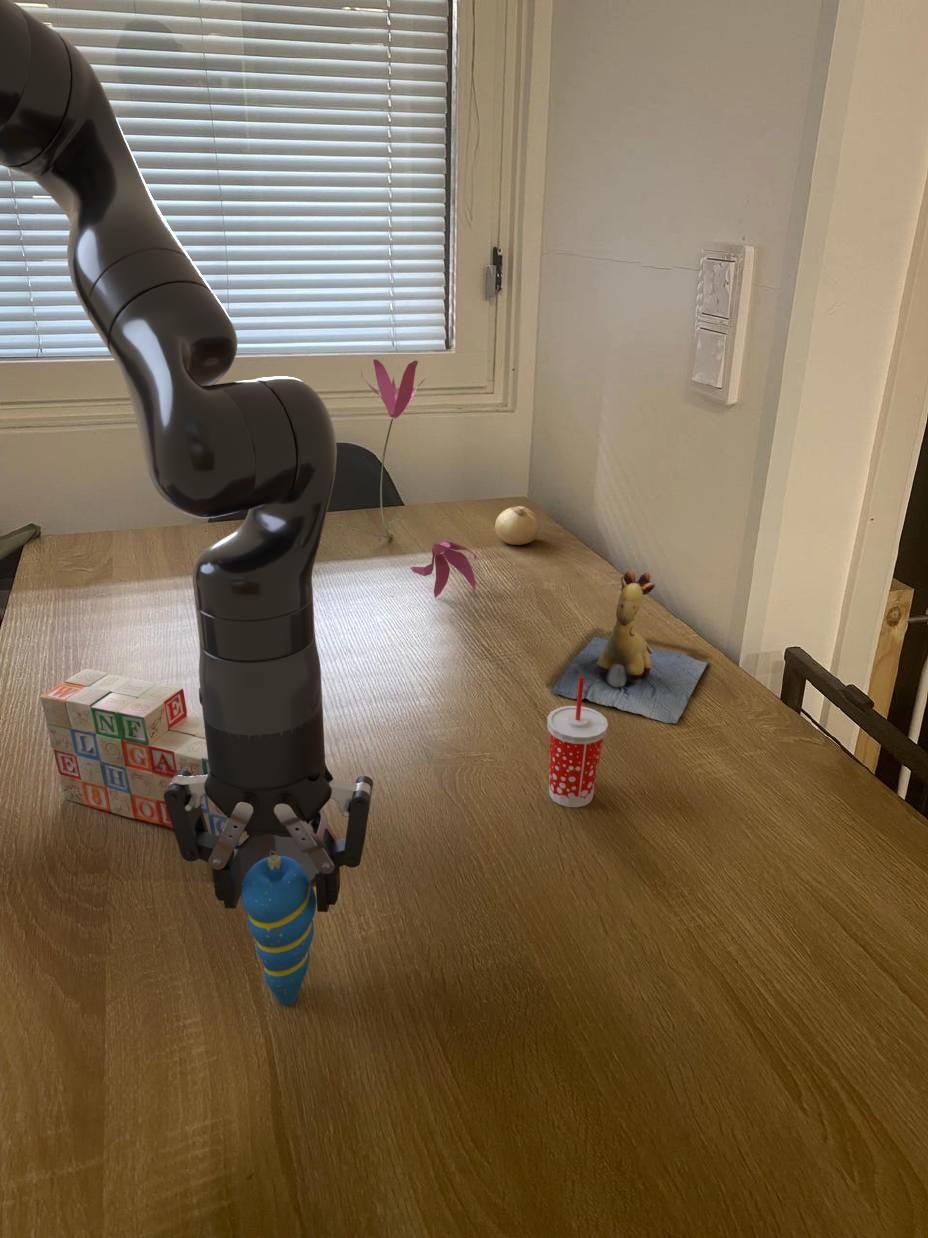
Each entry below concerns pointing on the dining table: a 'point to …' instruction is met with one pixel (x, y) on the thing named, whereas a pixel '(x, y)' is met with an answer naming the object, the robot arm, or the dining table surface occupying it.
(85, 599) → the dining table surface
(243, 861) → the slate coaster
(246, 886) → the ornament
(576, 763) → the beverage cup
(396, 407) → the decorative plant
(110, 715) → the stack of blocks
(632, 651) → the stuffed giraffe
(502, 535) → the onion
